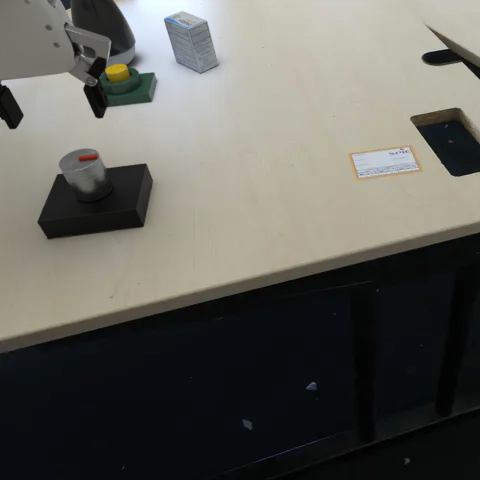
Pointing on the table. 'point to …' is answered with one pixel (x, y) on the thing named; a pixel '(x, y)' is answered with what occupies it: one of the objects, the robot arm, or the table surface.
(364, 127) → the table surface
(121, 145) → the table surface
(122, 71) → the yellow push button
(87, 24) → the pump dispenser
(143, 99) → the button housing
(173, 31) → the medicine box
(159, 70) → the table surface
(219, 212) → the table surface
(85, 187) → the knob
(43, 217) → the dial panel
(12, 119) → the robot arm
